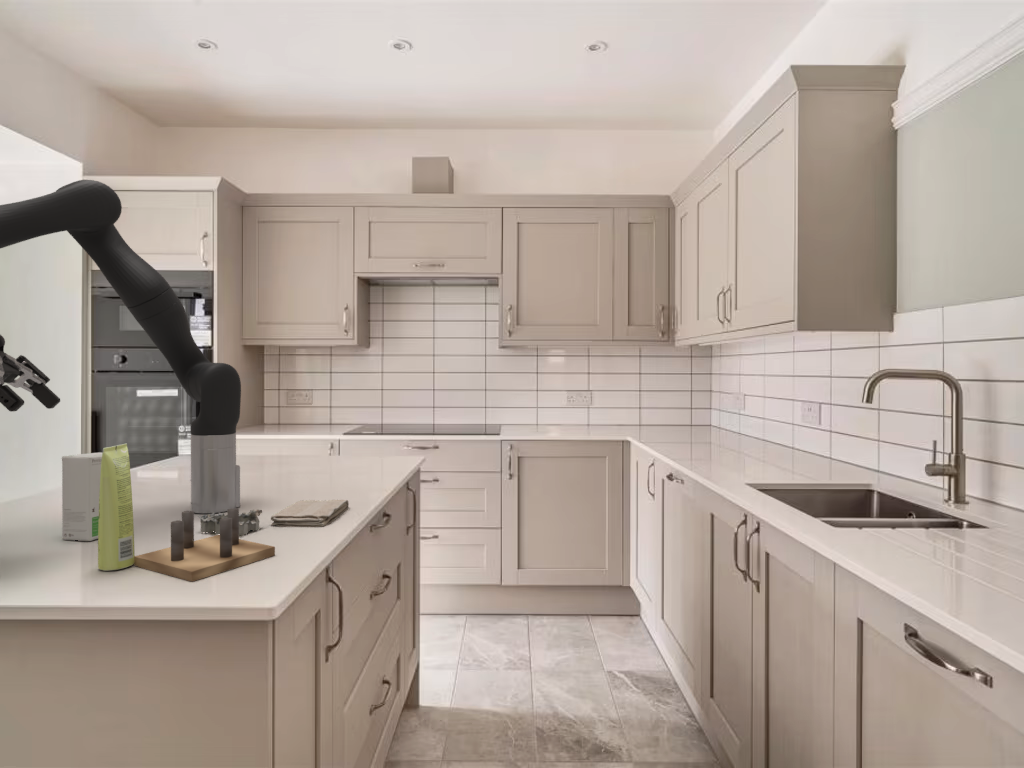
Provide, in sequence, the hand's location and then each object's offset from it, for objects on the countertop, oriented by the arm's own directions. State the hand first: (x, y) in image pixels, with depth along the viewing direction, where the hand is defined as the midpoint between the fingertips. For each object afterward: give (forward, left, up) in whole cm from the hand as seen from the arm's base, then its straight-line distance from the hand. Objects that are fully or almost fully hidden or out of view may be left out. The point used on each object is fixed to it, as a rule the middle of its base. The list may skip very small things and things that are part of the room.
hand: (37, 406), depth 95 cm
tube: (-7, +9, -26) cm, 28 cm away
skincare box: (-15, -14, -26) cm, 33 cm away
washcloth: (-46, +10, -27) cm, 54 cm away
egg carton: (-30, +5, -26) cm, 40 cm away
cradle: (-16, +19, -26) cm, 36 cm away
